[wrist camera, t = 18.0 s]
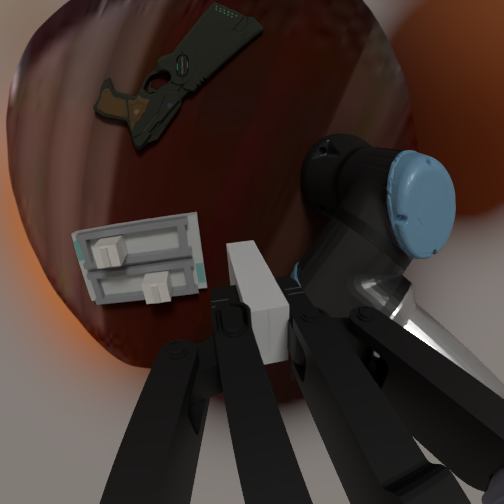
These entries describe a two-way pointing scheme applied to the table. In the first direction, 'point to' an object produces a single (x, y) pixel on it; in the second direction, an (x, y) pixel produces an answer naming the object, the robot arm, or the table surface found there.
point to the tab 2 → (157, 286)
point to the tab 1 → (110, 251)
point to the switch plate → (144, 257)
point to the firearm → (179, 73)
